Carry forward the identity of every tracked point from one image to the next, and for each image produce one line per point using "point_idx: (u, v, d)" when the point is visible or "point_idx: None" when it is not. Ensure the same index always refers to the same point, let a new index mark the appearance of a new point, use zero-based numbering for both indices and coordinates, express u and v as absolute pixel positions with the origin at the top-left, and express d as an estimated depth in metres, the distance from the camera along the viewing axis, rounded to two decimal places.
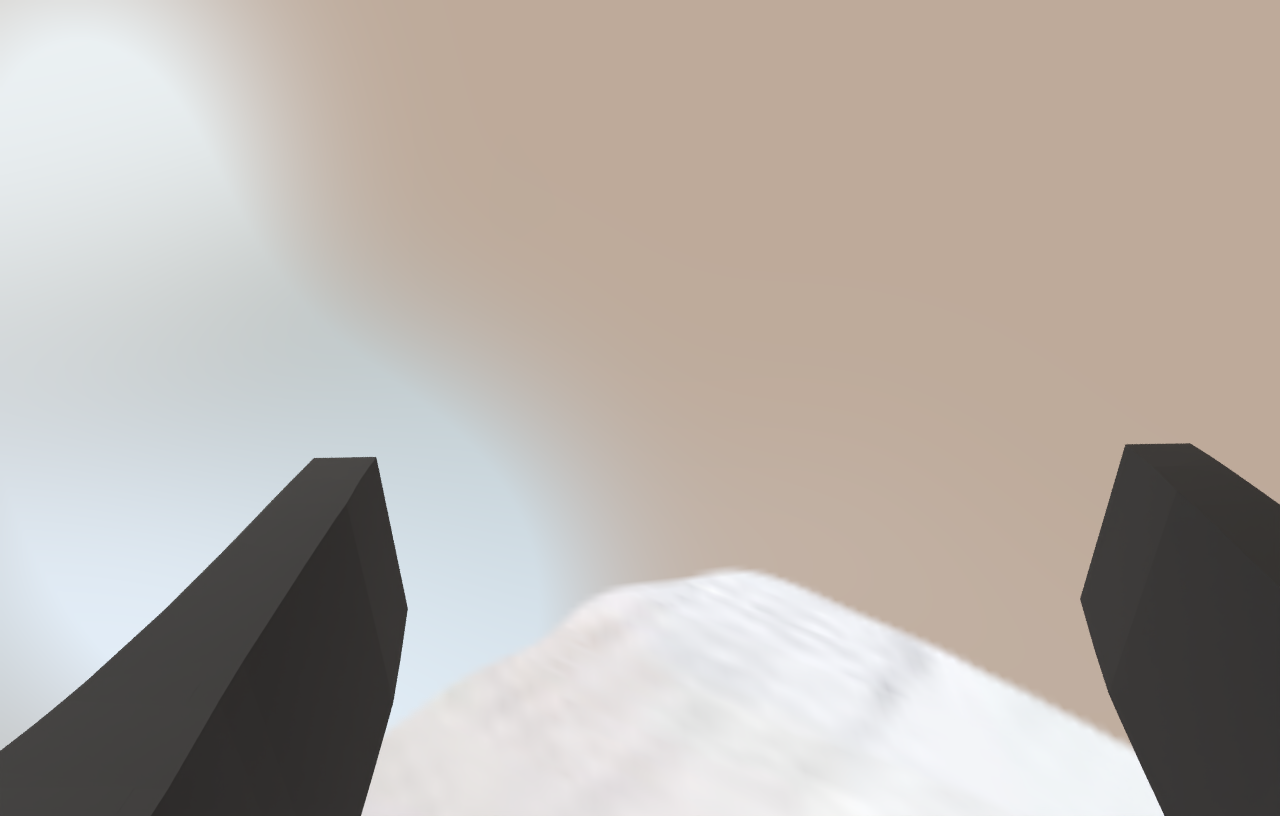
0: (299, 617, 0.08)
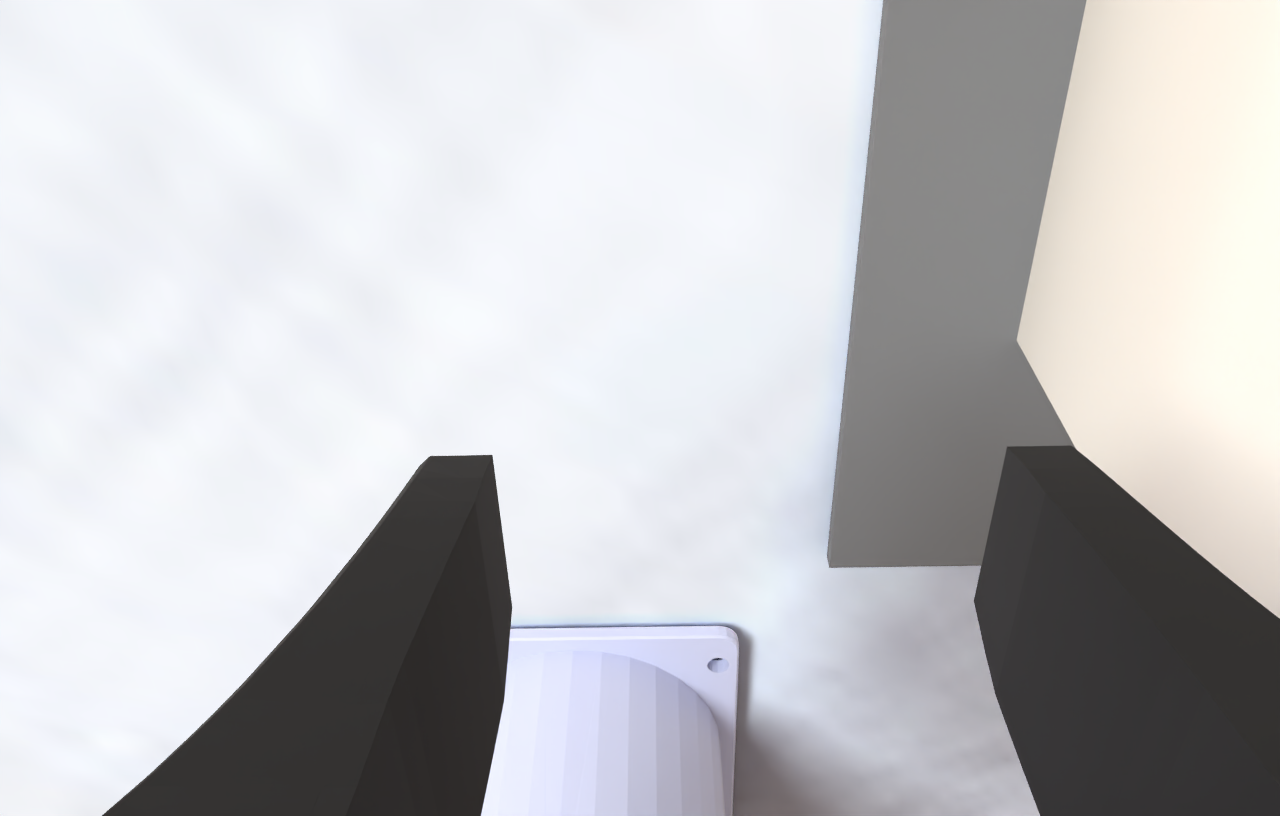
0: (442, 615, 0.08)
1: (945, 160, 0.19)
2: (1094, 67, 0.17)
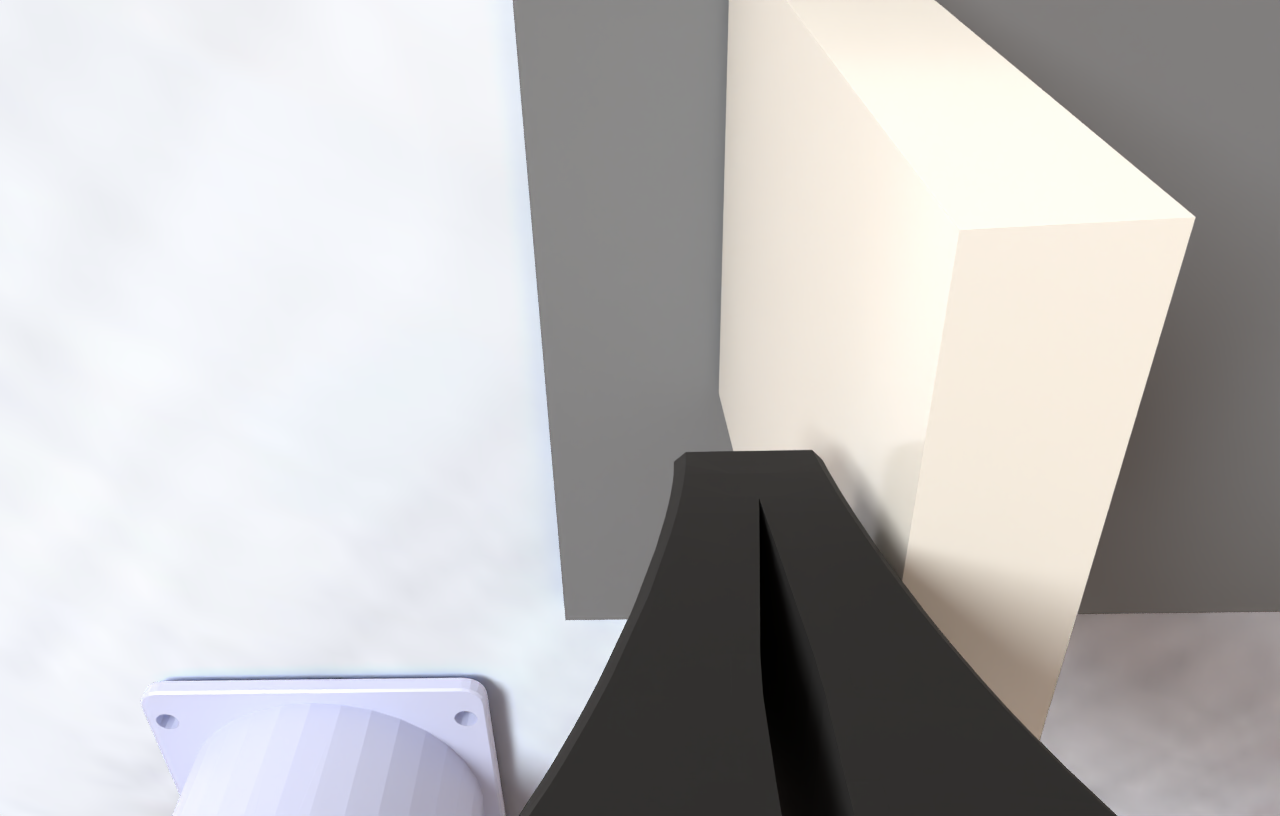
0: None
1: (608, 204, 0.18)
2: (735, 112, 0.16)
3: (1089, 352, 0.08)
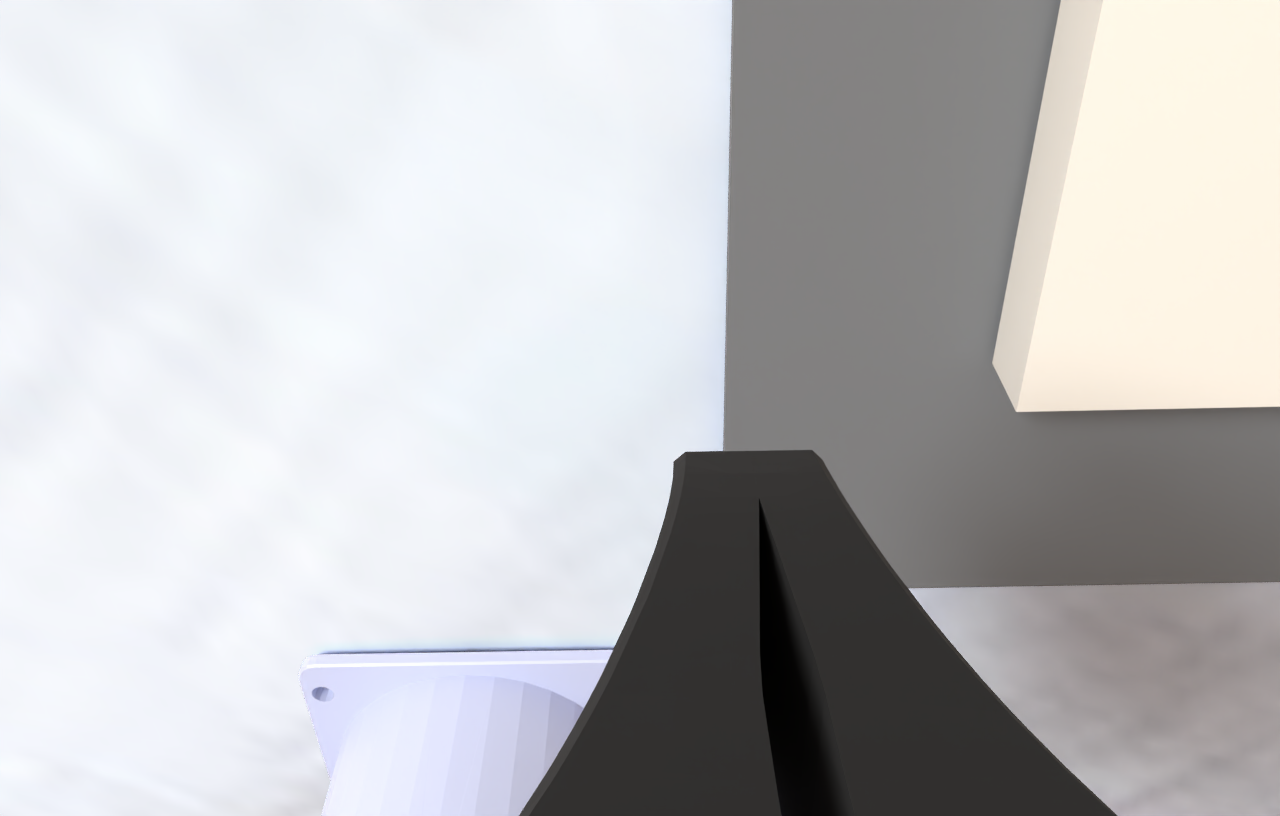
0: None
1: (806, 178, 0.18)
2: (1142, 97, 0.16)
3: None
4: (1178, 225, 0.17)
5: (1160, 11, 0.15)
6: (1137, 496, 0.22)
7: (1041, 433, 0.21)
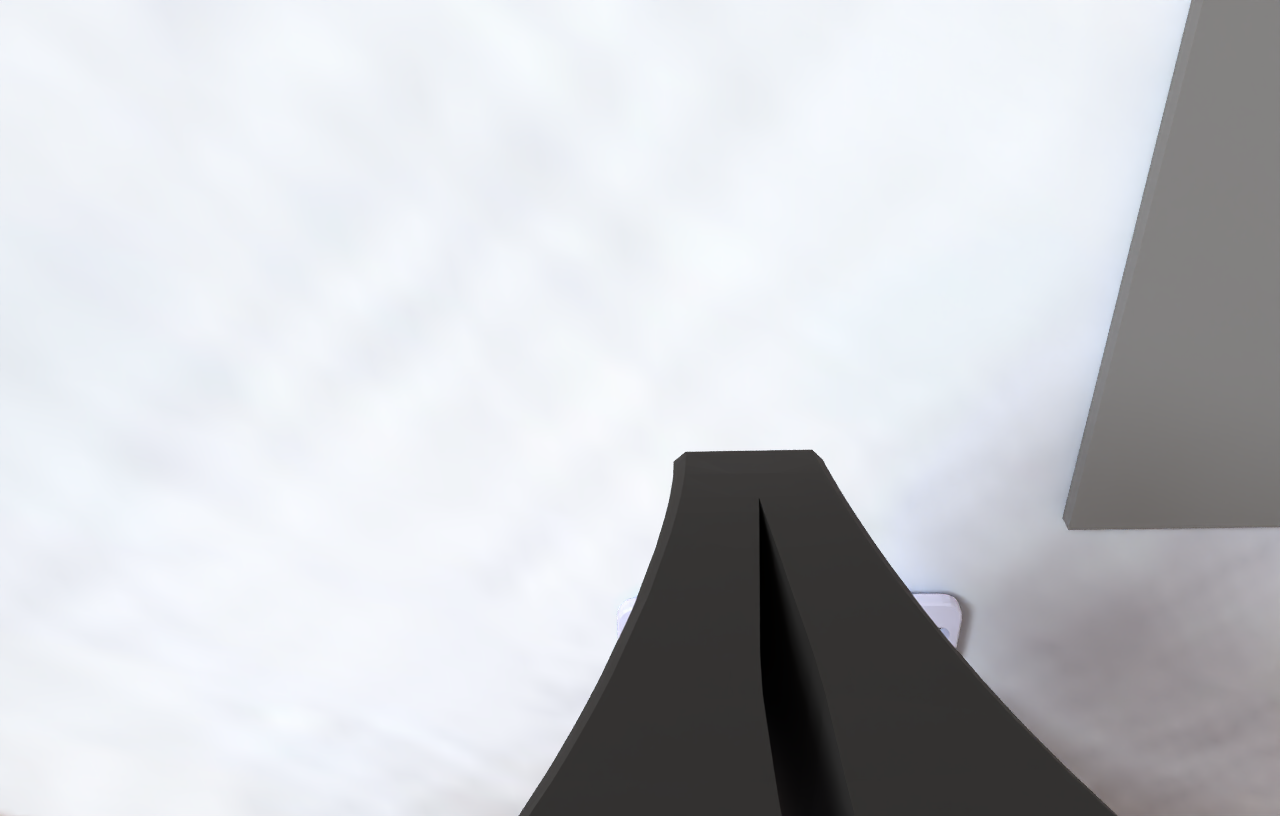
0: None
1: (1259, 84, 0.18)
2: None
3: None
4: None
5: None
6: None
7: None
